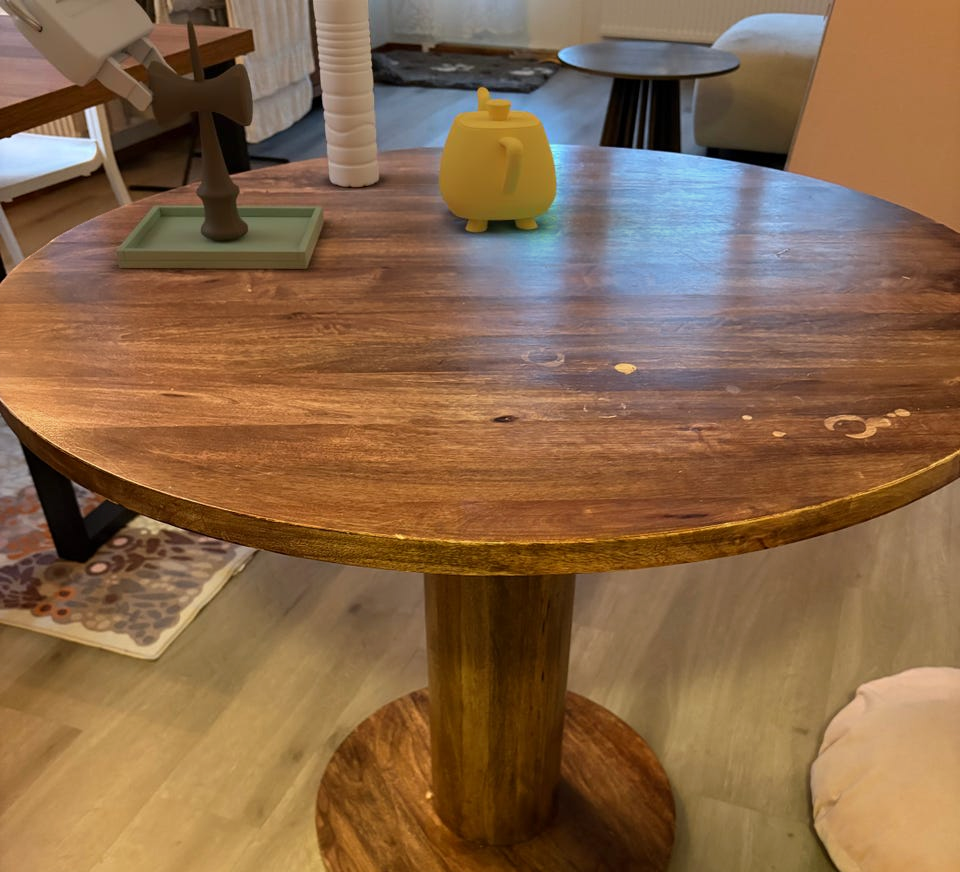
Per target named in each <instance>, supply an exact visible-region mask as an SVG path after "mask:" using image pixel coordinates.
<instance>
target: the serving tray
mask: <svg viewBox="0 0 960 872" xmlns="http://www.w3.org/2000/svg"><path fill="white" fill-rule="evenodd" d="M237 210H238V214H239V216H240V218H241V219H242V220H243V221H244V222H245V223H247V225H248V232H247V233H246V234H245V235H244V236H242V237H239V238H236V239H232V240H223V241H222V240H213V239H209V238H206V237H205V236H203V235H202V234H201V226H202V224H203V223H204V221H205V210H204V205H179V204H177V205H172V204H171V205H170V204H169V205H164V204H163V205H161V204H160V205H159V204H155V205H153V206H152V207H151V208H150V209H149V211H148V212H147V213H146V214H145V215H144V217H143V218H142V219H141V220H140V222H138V224H137V225H136V226H135V227H134V229H133V230H132V231H131V232H130V233H129V234H128V235H127V237H126V238H125V239H124V240H123V242H121V243H120V245H119V246H118V247H117V248H116V250H115V253H116V254H115V255H116V258H117V263H118V267H119V268H120V269H225V270H226V269H230V270H231V269H234V270H235V269H237V270H238V269H241V270H242V269H243V270H244V269H245V270H246V269H249V270H250V269H251V270H254V269H255V270H256V269H259V270H262V269H263V270H265V269H266V270H270V269H271V270H307V269H308V268H309V264H310V261H311V259H312V256H313V253H314V251H315V248H316V246H317V242H318V240H319V238H320V235H321V232H322V229H323V227H324V224H325V216H324V207H323V205H237Z"/></svg>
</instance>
